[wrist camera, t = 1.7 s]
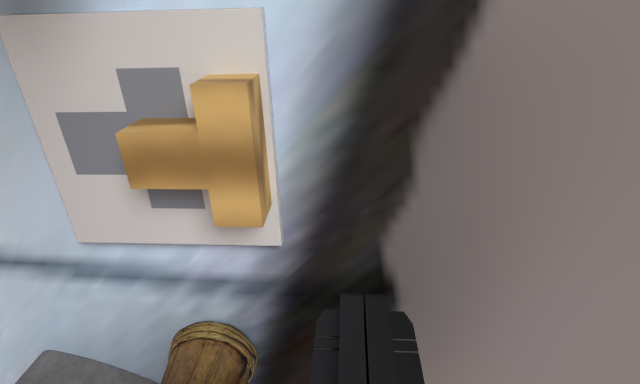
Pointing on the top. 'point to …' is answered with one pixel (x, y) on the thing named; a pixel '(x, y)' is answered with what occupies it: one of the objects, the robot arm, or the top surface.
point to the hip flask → (76, 371)
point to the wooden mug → (210, 356)
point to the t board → (134, 111)
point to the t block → (208, 150)
